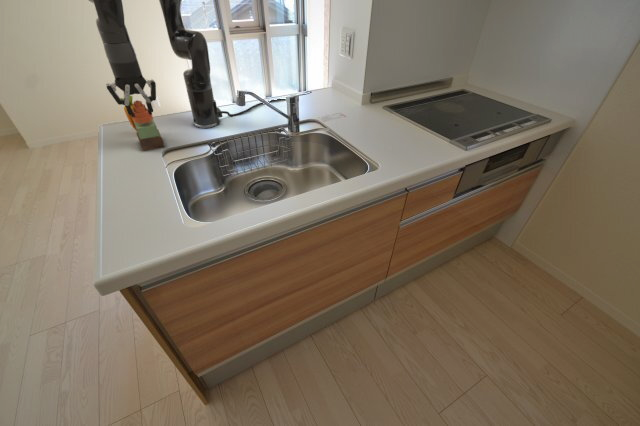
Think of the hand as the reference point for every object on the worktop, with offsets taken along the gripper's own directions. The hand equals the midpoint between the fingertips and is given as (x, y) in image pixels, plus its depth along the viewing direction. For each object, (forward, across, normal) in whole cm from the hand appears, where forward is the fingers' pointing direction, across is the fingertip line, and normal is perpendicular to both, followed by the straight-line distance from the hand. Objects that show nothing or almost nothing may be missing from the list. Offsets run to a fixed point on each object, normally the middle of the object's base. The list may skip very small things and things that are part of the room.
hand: (141, 114), depth 98 cm
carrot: (+11, -2, +10) cm, 15 cm away
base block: (+11, 0, 0) cm, 11 cm away
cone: (+2, 0, 0) cm, 2 cm away
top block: (+7, 0, 0) cm, 7 cm away
